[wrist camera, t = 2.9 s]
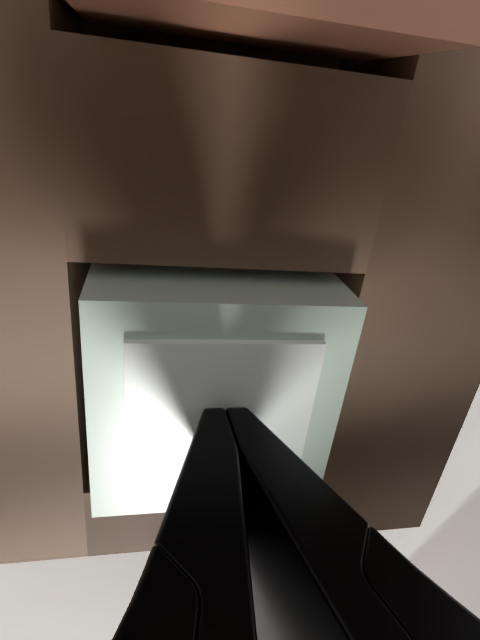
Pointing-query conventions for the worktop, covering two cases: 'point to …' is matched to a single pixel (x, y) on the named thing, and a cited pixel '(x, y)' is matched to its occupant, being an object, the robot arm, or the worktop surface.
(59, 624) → the worktop surface
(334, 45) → the terracotta key
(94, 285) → the sage key
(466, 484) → the worktop surface
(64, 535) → the key console
